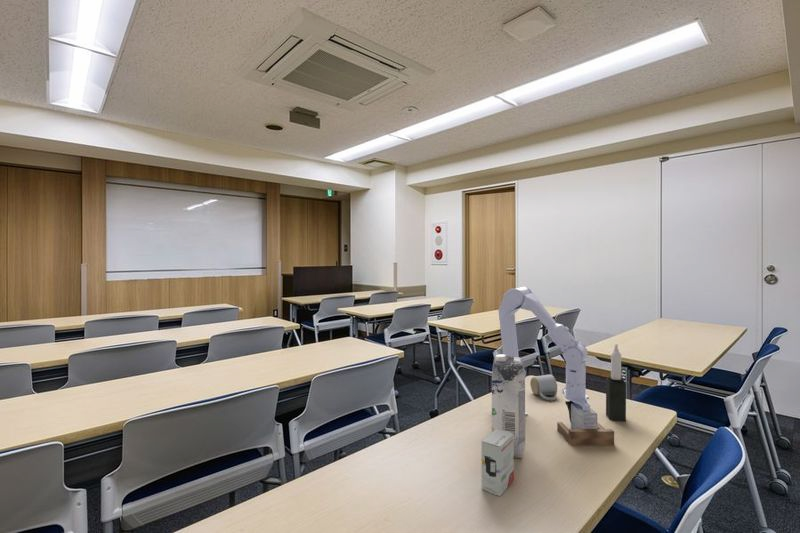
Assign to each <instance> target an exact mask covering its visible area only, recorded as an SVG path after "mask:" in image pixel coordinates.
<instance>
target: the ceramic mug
mask: <svg viewBox="0 0 800 533" xmlns="http://www.w3.org/2000/svg"><path fill="white" fill-rule="evenodd" d="M529 385H530V389H531V391H532V393H533V394H534V395H535V396H540V397H541V398H542V399H543V400H545V401H547V402H548V401H549V402H552V401H555V400H556V399H557V393H558V383H557V380H556V378H555V376H553V375H552V374H543V375H535V376H533V377H531V379H530V383H529ZM549 396H554V397H549Z"/></svg>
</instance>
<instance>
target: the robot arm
mask: <svg viewBox="0 0 800 533" xmlns="http://www.w3.org/2000/svg"><path fill="white" fill-rule="evenodd" d="M521 309H522V310H524V311H525V310H526V311H530V312H531V313H533V315H534V316H535V317H536V318H537V319H538V320H539V321H540V322H541V324H543V326H544V327H545V328H546V329H547V331H548V332H547V333H548V334H547V335H548V337H549V338H550V339H551V340H552V341H553V343H554V344H555V346H557V347H558V349H559V350H560V351H561V352H562V356H563V359H564V361H565V387H562V395H564V398H565V399H566V400H567V401H566V400H565V402H564V403H565V405H566V407H567V410H568V416H569V422H570V424H571V404H573V403H576V404H578V405H580V406H581V407H582V410H583V411H590V408H591V405H590V403H589V401H588V400H590V396H589V395H588V394H586V388H587V387H586V383H587V382H586V380H587V378H586V375H587V374H586V373H587V372H586V371H587V369H586V359H587V357H588V355H589V352H588V349H587V348H586V345H585V344H583V343H581V342H580V341H579V339H576V338H575V337H574V336H573V335H572V334H571V333H570V332H569V331H570V329H569V327H568V326H564V324H562V323H557V322H556V320H555V319H554V318H553V317H552V315H551V314H550V313H549V312H548V309H546V308H545V307H544V305H543V304H542V303H541V301H540V300H539V298H538V297H537V295H536V294H535V293H534V292H533V291H532V290H531V289H530V288H529V287H527V286H519V287H516V288H514V287H513V288H509V289H508V290H507V291H506V292H505V293H504V294H502V300H501V302H500V304H499V307H498V318H499V320H498V321H499V328H500V338H501V348H502V354H504V355H506V356H510V357H520V355H519V347H518V337H517V336H518V334H517V326H516V317H515V315H516V313H517V312H518V311H519V310H521ZM523 369H524V375H525V379H526V378H527V372H526V369H525V368H524V367H523ZM527 415H528V413H527V411H526V410H525V416H527Z"/></svg>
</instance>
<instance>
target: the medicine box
mask: <svg viewBox="0 0 800 533" xmlns="http://www.w3.org/2000/svg"><path fill="white" fill-rule="evenodd" d="M598 423H599V422H598V413H597V412H596V411H595V410H593V409H592V407H590V411H583V410H582V407H581V406H580V405H578V404H576V403H573V404H571V423H570V429H598Z"/></svg>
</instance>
